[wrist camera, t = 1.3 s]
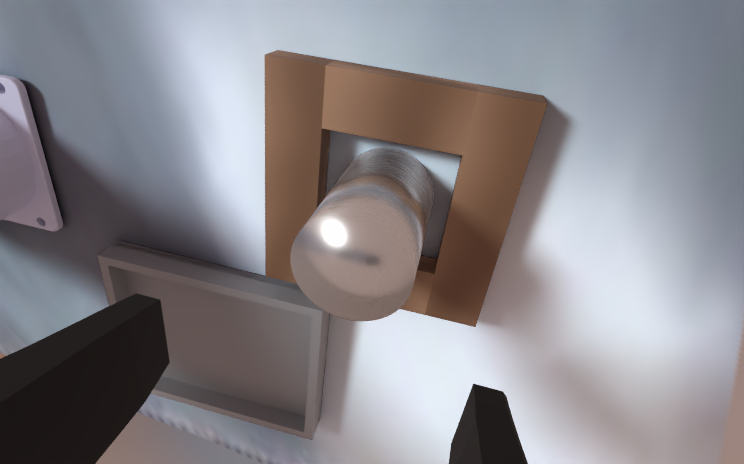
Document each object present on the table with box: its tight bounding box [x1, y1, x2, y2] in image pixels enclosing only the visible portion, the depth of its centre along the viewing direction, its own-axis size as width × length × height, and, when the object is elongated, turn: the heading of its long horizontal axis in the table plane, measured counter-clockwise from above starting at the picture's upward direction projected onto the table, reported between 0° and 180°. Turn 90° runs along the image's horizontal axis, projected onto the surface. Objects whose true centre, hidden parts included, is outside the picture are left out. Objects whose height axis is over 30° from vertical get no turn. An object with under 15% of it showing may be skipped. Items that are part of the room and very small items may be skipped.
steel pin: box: [290, 148, 434, 321], centre depth 16 cm, size 4×4×6 cm
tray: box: [97, 241, 330, 440], centre depth 25 cm, size 12×10×2 cm
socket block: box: [265, 50, 547, 327], centre depth 18 cm, size 10×10×1 cm
